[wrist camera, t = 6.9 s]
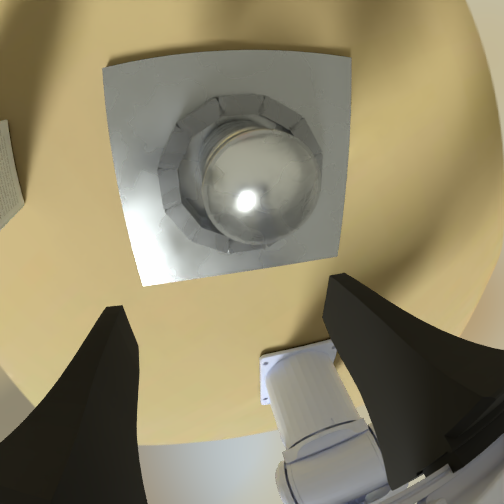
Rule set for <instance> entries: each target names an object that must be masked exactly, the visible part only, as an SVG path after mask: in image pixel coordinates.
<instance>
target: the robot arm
mask: <svg viewBox="0 0 504 504" xmlns="http://www.w3.org/2000/svg"><path fill="white" fill-rule="evenodd" d="M322 318H323V320H324V323H325V326H326V328H327V331H328V333H329V336H330V338H331V339H329V340H326V341H322V342H318V343H314V344H310V345H305V346H301V347H297V348H293V349H288V350H284V351H279V352H274V353H269V354H265V355H262V356H261V357H260V402H261V404H262V405H266V404H270V405H271V408H272V411H273V414H274V417H275V421H276V424H277V427H278V430H279V433H280V436H281V439H282V442H283V444H284V446H285V447H286V451H284V452H283V457H284V461H281V462H280V463H279V465H278V468H277V470H276V473H275V478H276V484H277V488H278V492H279V494H280V497H281V499H282V502H283V503H284V504H415V503H416V502H417V504H504V350H500V349H495V348H491V347H487V346H484V345H480V344H476V343H474V342H470V341H467V340H465V339H462V338H459V337H457V336H454V335H452V334H449V333H447V332H445V331H442V330H440V329H438V328H436V327H434V326H432V325H430V324H428V323H426V322H424V321H422V320H420V319H418V318H416V317H415V316H413V315H411V314H409V313H408V312H406V311H404V310H402V309H401V308H399V307H398V306H396V305H394V304H393V303H391V302H390V301H388V300H386V299H385V298H383V297H382V296H380V295H379V294H377V293H376V292H374V291H373V290H371V289H369V288H368V287H366V286H365V285H363V284H362V283H360V282H359V281H357V280H356V279H354V278H352V277H351V276H349V275H347V274H346V273H342V274H336V275H330V277H329V283H328V289H327V295H326V300H325V306H324V311H323V316H322ZM337 351H338V353H339V355H340V357H341V359H342V360H343V362H344V364H345V366H346V367H347V369H348V371H349V373H350V375H351V376H352V378H353V380H354V382H355V384H356V385H357V387H358V389H359V391H360V394H361V396H362V398H363V401H364V403H365V406H366V408H367V410H368V413H369V416H370V419H371V421H372V423H371V424H369V425H368V426H367V424H366V423H365V420H364V418H360V416H359V414H358V412H357V410H356V408H355V406H354V404H353V402H352V400H351V398H350V396H349V394H348V392H347V390H346V388H345V386H344V384H343V382H342V380H341V378H340V376H339V374H338V372H337V370H336V368H335V366H334V364H333V363H334V359H335V356H336V352H337ZM138 386H139V348H138V344H137V341H136V339H135V336H134V334H133V332H132V329H131V327H130V324H129V321H128V319H127V316H126V314H125V311H124V308H123V305H121V306H111V307H106V308H105V309H104V311H103V312H102V314H101V315H100V317H99V318H98V320H97V322H96V323H95V325H94V326H93V328H92V329H91V331H90V333H89V334H88V336H87V337H86V339H85V341H84V342H83V344H82V345H81V347H80V348H79V350H78V352H77V353H76V355H75V356H74V358H73V359H72V361H71V362H70V364H69V365H68V366H67V368H66V369H65V371H64V372H63V374H62V375H61V377H60V378H59V379H58V381H57V382H56V383H55V385H54V386H53V387H52V389H51V390H50V391H49V392H48V394H47V395H46V396H45V397H44V399H43V400H42V401H41V402H40V403H39V404H38V406H37V407H36V408H35V409H34V410H33V411H32V412H31V413H30V414H29V416H28V417H27V418H26V419H25V420H24V421H23V422H22V423H21V424H20V425H19V426H18V427H17V428H16V429H15V430H14V431H13V432H12V433H11V434H10V435H9V436H7V437H6V438H5V439H4V440H3V441H2V442H1V443H0V504H148V503H147V499H146V495H145V490H144V485H143V480H142V474H141V468H140V462H139V454H138V444H137V403H138ZM423 474H424V475H425V477H426V478H425V479H423V480H421V481H420V482H418V483H416V484H414V485H413V486H411V487H409V488H407V487H408V483H409V482H410V481H412V480H414V479H416V478H417V477H419V476H421V475H423Z"/></svg>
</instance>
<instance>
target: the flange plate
mask: <svg viewBox="0 0 504 504" xmlns="http://www.w3.org/2000/svg"><path fill="white" fill-rule="evenodd" d="M102 71H103V84H104V95H105V105H106V113H107V122H108V129H109V136H110V143H111V149H112V156H113V162H114V167H115V173H116V178H117V183H118V188H119V193H120V198H121V203H122V207H123V212H124V216H125V221H126V225H127V229H128V233H129V237H130V241H131V245H132V249H133V252H134V256H135V260H136V263H137V267H138V270H139V274H140V277H141V281H142V284H143V286H148V285H155V284H162V283H169V282H176V281H183V280H190V279H197V278H204V277H210V276H217V275H224V274H231V273H237V272H244V271H250V270H257V269H263V268H269V267H276V266H282V265H288V264H294V263H301V262H307V261H313V260H319V259H325V258H331V257H337V256H338V249H339V241H340V234H341V226H342V217H343V209H344V199H345V189H346V179H347V167H348V153H349V137H350V116H351V58H350V57H344V56H337V55H329V54H320V53H310V52H297V51H280V50H226V51H208V52H196V53H186V54H177V55H169V56H162V57H155V58H149V59H143V60H138V61H133V62H128V63H123V64H118V65H114V66H109V67H105V68H102ZM240 120H245V121H252V122H255V123H258V124H260V125H263V126H265V127H267V128H272V129H277V130H280V131H283V132H286V133H288V134H290V135H292V136H294V137H296V138H298V139H299V140H300V141H302V142H303V143H304V144H305V145H306V146H307V147H308V148H309V149H310V150H311V152H312V153H313V155H314V156H315V158H316V160H317V163H318V165H319V169H320V173H321V191H320V196H319V200H318V203H317V205H316V207H315V209H314V211H313V213H312V215H311V216H310V217H309V219H308V220H307V221H306V222H305V223H304V224H303V226H302V227H300V228H299V229H298V230H297V231H296V232H294V233H293V234H291V235H290V236H288V237H286V238H284V239H282V240H279V241H276V242H273V243H269V244H261V245H253V244H245V243H241V242H238V241H235V240H233V239H231V238H229V237H227V236H226V235H224V234H223V233H222V232H220V231H219V230H218V229H217V228H216V227H215V225H214V224H213V223H212V221H211V220H210V218H209V217H208V214H207V212H206V209H205V206H204V202H203V197H202V179H201V175H200V171H199V165H198V163H199V154H200V150H201V148H202V145H203V143H204V142H205V140H206V139H207V137H208V136H209V135H210V134H211V133H212V132H213V131H214V130H215V129H217V128H218V127H220V126H222V125H224V124H226V123H229V122H233V121H240Z"/></svg>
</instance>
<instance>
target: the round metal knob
mask: <svg viewBox="0 0 504 504" xmlns="http://www.w3.org/2000/svg"><path fill="white" fill-rule="evenodd" d="M198 165H199V171H200V175H201V179H202V197H203V202H204V206H205V209H206V212H207V214H208V217H209V218H210V220H211V221H212V223H213V224H214V225H215V227H216V228H217V229H218V230H219V231H220V232H222V233H223V234H224V235H226V236H227V237H229V238H231V239H233V240H235V241H238V242H241V243H245V244H253V245H261V244H269V243H273V242H276V241H279V240H282V239H284V238H286V237H288V236H290V235H291V234H293V233H294V232H296V231H297V230H298V229H299V228H300V227H302V226H303V224H304V223H305V222H306V221H307V220H308V219H309V217H310V216H311V215H312V213H313V211H314V209H315V207H316V205H317V203H318V200H319V196H320V191H321V173H320V169H319V165H318V163H317V160H316V158H315V156H314V155H313V153H312V152H311V150H310V149H309V148H308V147H307V146H306V145H305V144H304V143H303V142H302V141H300V140H299V139H298V138H296V137H294V136H292V135H290V134H288V133H286V132H283V131H280V130H277V129H272V128H267V127H265V126H263V125H260V124H258V123H255V122H252V121H245V120H240V121H233V122H229V123H226V124H224V125H222V126H220V127H218V128H217V129H215V130H214V131H213V132H212V133H211V134H210V135H209V136H208V137H207V139H206V140H205V142H204V143H203V145H202V148H201V150H200V154H199V163H198Z"/></svg>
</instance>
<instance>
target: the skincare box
mask: <svg viewBox="0 0 504 504" xmlns="http://www.w3.org/2000/svg"><path fill="white" fill-rule="evenodd" d="M23 206H24V200H23V196H22V193H21V189H20V185H19V181H18V176H17V172H16V167H15V163H14V158H13V152H12V147H11V141H10V134H9V127H8V120H2V121H0V230H1V229H2V228H3V227H4V226H5V225H6V224H7V223H8V222H9V221H10V220H11V219H12V218H13V217H14V216H15V215H16V214H17V212H19V211H20V210H21V208H22V207H23Z"/></svg>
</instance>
